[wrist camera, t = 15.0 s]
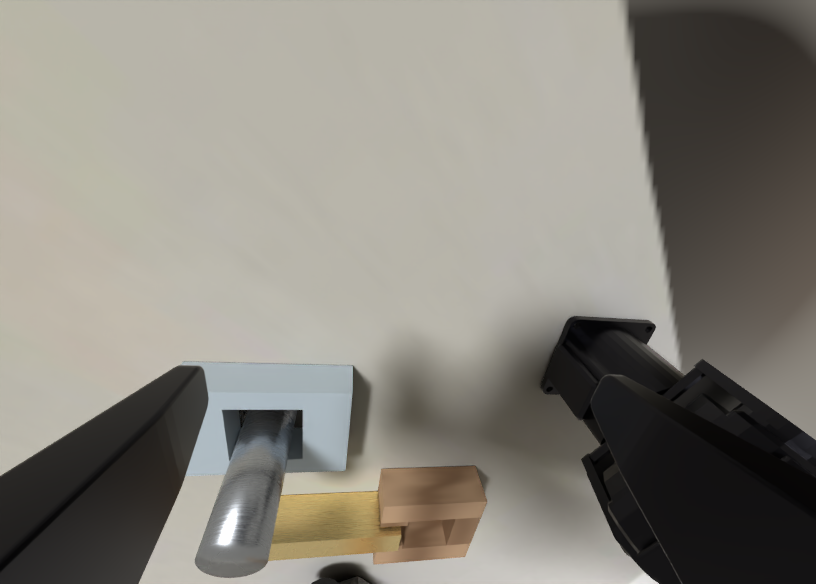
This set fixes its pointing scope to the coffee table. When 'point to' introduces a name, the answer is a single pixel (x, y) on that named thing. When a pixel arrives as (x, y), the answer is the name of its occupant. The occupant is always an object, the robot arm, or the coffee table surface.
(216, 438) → the light blue rectangular frame
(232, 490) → the peg
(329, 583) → the hammer
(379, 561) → the socket block
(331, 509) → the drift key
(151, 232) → the coffee table surface
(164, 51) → the coffee table surface
